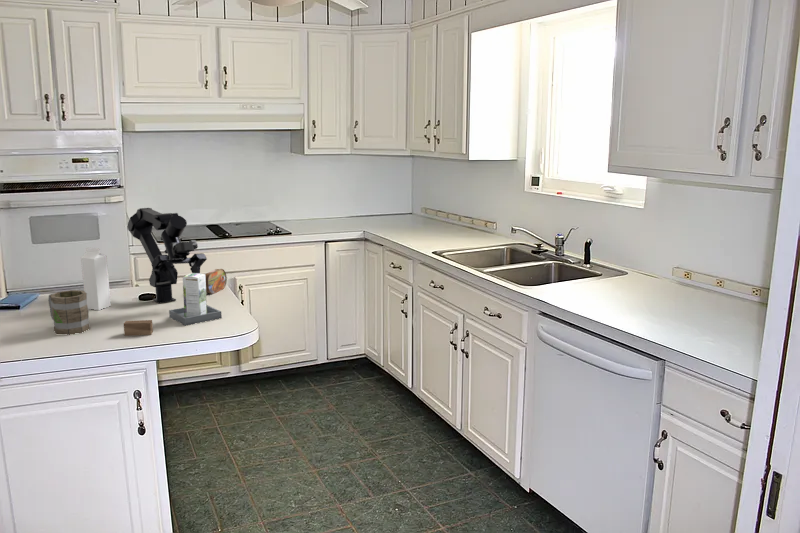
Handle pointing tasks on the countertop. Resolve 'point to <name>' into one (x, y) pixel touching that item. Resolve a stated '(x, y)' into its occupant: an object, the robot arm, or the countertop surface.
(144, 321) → the block
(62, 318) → the mug
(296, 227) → the countertop surface
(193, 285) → the syrup box
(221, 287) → the tin
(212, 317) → the tray
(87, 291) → the milk
